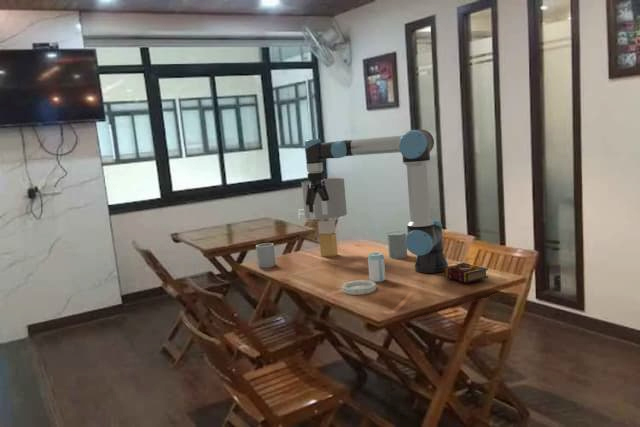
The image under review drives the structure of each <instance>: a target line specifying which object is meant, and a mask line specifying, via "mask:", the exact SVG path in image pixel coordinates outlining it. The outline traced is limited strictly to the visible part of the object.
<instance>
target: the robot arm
mask: <svg viewBox="0 0 640 427" xmlns="http://www.w3.org/2000/svg"><path fill="white" fill-rule="evenodd" d="M434 146H435V139H434V136H433V135H432V133H431V132H429V131H428V130H426V129H412V130H409V131H406V132H404V133H403V134H402V135H396V136H395V135H394V136H393V135H392V136H383V137H382V136H381V137H371V138H359V139H349V140H348V139H345V140H344V139H343V140H340V141H339V140H336V141H329V142H328V141H327V142H322V141H321V139H320V138H315V139H314V138H313V139H306V140H305V142H304V151H305V152H304V153H305V159H306V160H305V161H306V165H305V166H306V171H307V181H311V184H308V190H307V198H306V205H309V214H310V219H309V220H317V219H316V215H315V205H313V204H314V201H315V197H316V193H317V192H318V193H319V195H320V197H321V199H322V201H321V204H322V214H328V207H327V201H329V196H328V193H327V190H326V186H325V181H321V180H323V179H325V177H324V172H323V171H324V167H323V164H324V163H323V160H325V159H341V158H344V157H352V156H364V155H365V156H366V155H367V156H368V155H380V154H395V153H400V154H401V156H402V163H403V164H404V165H405V167H406V173H407V174H406V175H407V176H406V177H407V188H408V189H407V191H408V204H409V206H408V207H409V221H408V223H407V224H406V227H407V235H406V239H405V244H406V247H407V251H408V252H410V254H413V255H415V256H416V259H415V263H414V270H415V272H418V273H422V274H423V273H424V274H429V273H430V274H433V273H434V274H435V273H436V274H437V273H441V272H445V270H444V268H445V267H449V264H448V261H447V259H446V255H445V254H444V244H443V243H444V242H443V226H442V225H443V224H442V222H441V220H439V219H438V220H437V219H436V220H435V219H434V220H433V219H431V215H430V214H431V212H430V199H429V198H430V197H429V181H428V180H429V177H428V166H427V165H428V164H429V162H431V152H432V150H433V149H434Z"/></svg>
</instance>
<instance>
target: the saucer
mask: <svg viewBox="0 0 640 427" xmlns="http://www.w3.org/2000/svg"><path fill="white" fill-rule="evenodd" d="M376 290H377V284H376V282H373V281H370V280H364V279H359V280H351V281H348V282H345V283H342V285H341V291H342V293H343V294H346V295H350V296H355V295H356V296H358V295H368V294H370V293H373V292H375V291H376Z"/></svg>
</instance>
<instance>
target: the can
mask: <svg viewBox="0 0 640 427" xmlns="http://www.w3.org/2000/svg"><path fill="white" fill-rule="evenodd" d="M367 263H368V264H367V265H368V266H367V267H368V275H369V277H368V278H369V281H373V282H375V283H381V282H384V281H385V280H386V267H385V265H386V264H385V256H383V253H382V252H372V253H369V254H368V258H367Z"/></svg>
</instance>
